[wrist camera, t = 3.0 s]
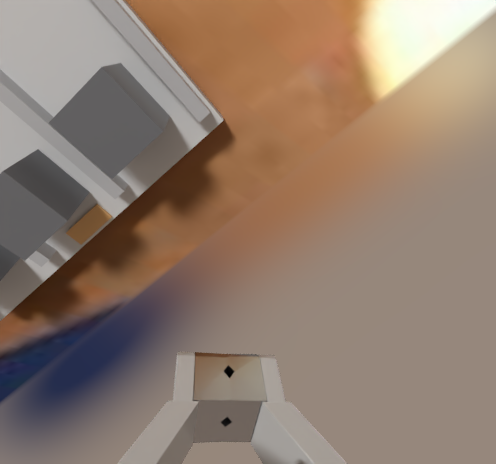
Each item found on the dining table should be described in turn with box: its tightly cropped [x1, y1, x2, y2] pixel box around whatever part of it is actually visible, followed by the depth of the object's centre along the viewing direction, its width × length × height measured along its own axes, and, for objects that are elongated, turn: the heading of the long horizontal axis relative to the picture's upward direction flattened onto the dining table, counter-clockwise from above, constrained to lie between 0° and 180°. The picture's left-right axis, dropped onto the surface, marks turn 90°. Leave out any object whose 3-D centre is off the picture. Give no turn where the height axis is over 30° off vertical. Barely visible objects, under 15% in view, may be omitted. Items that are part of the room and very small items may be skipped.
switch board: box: [0, 0, 224, 321], centre depth 20 cm, size 22×14×3 cm, turn 129°
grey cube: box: [49, 63, 170, 179], centre depth 18 cm, size 4×4×4 cm
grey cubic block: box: [0, 149, 89, 261], centre depth 19 cm, size 4×4×4 cm
